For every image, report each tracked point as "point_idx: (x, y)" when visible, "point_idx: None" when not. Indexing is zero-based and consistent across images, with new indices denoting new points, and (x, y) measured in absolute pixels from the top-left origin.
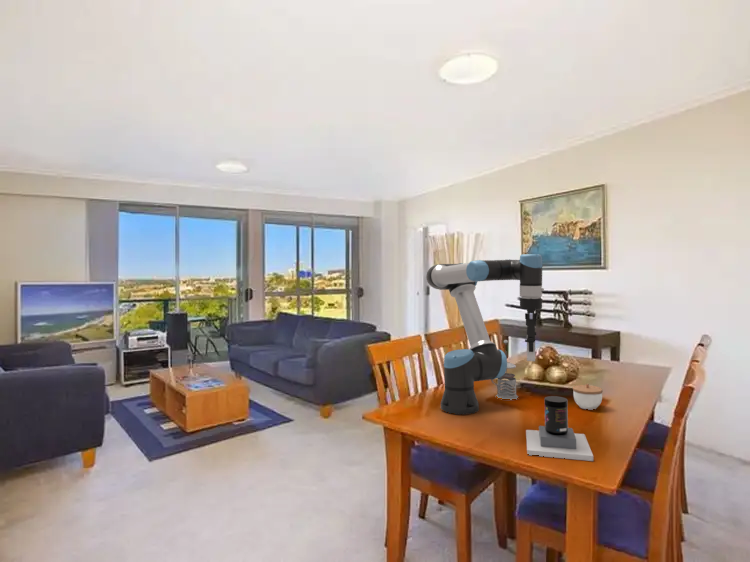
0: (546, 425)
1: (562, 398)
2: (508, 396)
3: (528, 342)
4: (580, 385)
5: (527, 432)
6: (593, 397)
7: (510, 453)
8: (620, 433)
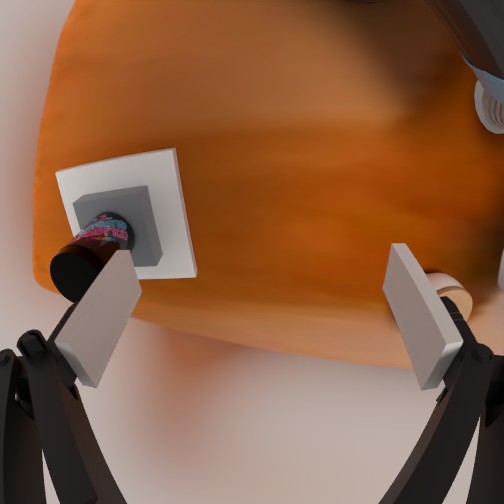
0: (90, 221)
1: None
2: (484, 103)
3: (60, 348)
4: (466, 305)
5: (152, 156)
6: None
7: (55, 137)
8: (257, 330)
